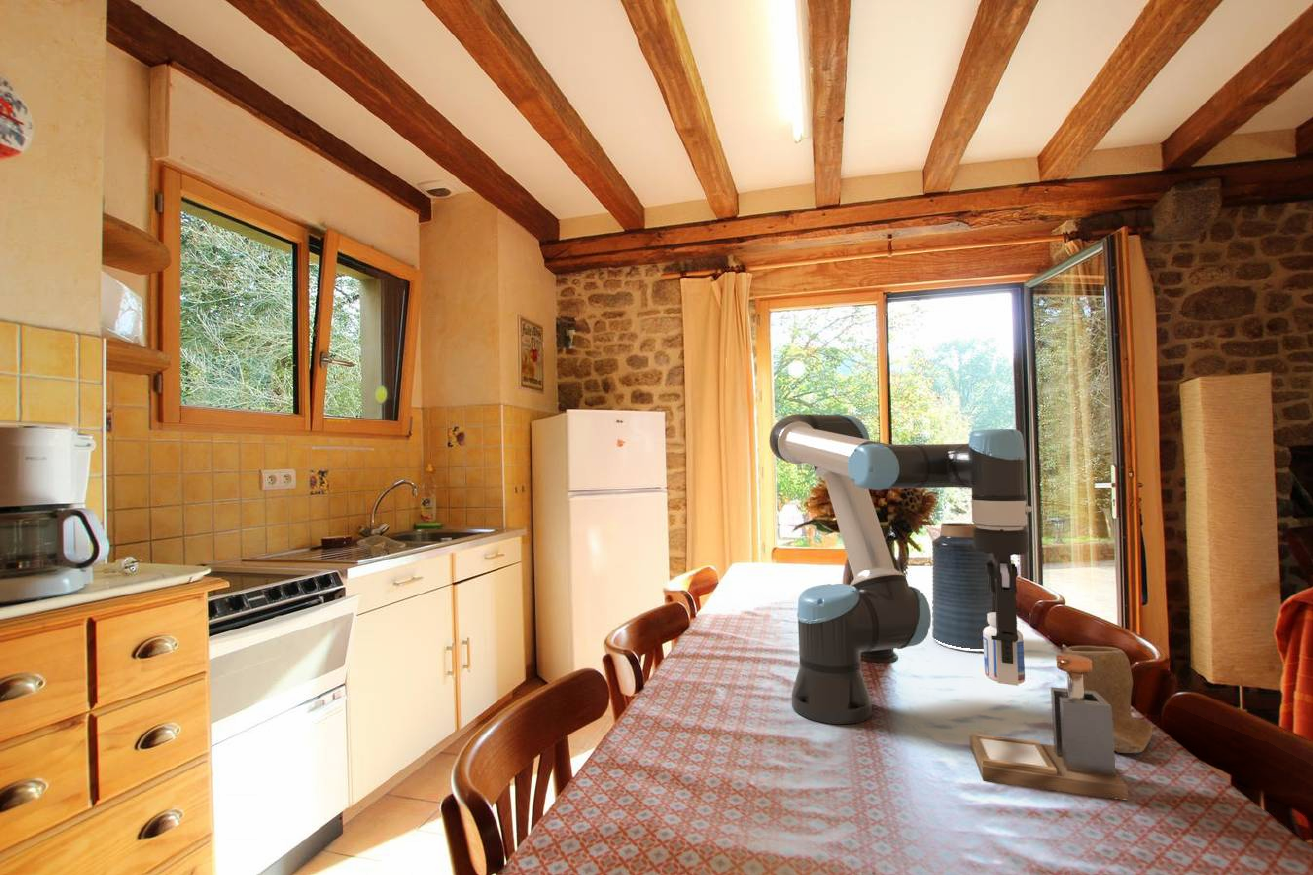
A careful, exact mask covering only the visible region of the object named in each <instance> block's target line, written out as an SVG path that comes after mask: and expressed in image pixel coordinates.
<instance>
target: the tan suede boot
mask: <svg viewBox="0 0 1313 875" xmlns="http://www.w3.org/2000/svg"><path fill="white" fill-rule="evenodd" d="M1063 654H1072V655H1078V656H1083V657H1086V658H1088V659H1090V660H1092V673H1091V674H1083V687H1084V690H1086V691H1096V692H1097V693H1098V694H1099V695H1100V696H1101V697H1102V698H1103V699H1104V700H1105V701H1106V702H1108V703H1109V704H1110V705H1111V706H1112V722H1113V739H1114V751H1116V753H1119V754H1120V753H1121V754H1139V753H1141V752H1144V750H1145V749H1146V747H1147V745H1148V744H1149V742H1150V741H1151V738H1152V734H1153V730H1154V728H1153V725H1152V724H1151V723H1150V722H1148V721H1145V720H1142V719H1139V718H1136V717H1134V716H1133V715H1132V708H1131V707H1132V694H1133V686H1134V678H1133V673H1132V668H1131V663H1130V660H1129V657H1128V656H1127V654H1126V652H1124V650H1122V649H1120V648H1117V647H1112V646H1096V645H1073V646H1067V647H1066V648H1065V649H1064V651H1063Z"/></svg>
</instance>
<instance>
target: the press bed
mask: <svg viewBox="0 0 1313 875" xmlns="http://www.w3.org/2000/svg"><path fill="white" fill-rule="evenodd" d="M969 742H970V746H969V747H970V750H971V752H972V754H973V757H974V760H975V762H976V765H977V768H978V770H979V773H980V776H981V778H982V780H983V781H986V782H991V781H992V783H998V784H999V783H1000V784H1006V785H1013V786H1019V787H1020V786H1021V787H1025V786H1026V788H1033V789H1034V788H1035V789H1039V788H1040V789H1041V790H1046V789H1049V790H1048V791H1053V790H1056V791H1055V792H1060V791H1064V792H1063V793H1067V792H1068V793H1067V794H1076V795H1083V796H1087V797H1088V796H1089V797H1095V796H1097V798H1102V797H1107V798H1106V799H1108V798H1117V799H1127V800H1128V801H1129V791H1128V788H1129V787H1128V785H1127V784H1126V783H1125V781H1123V780H1122V778H1121V777H1120V776H1119V774H1118V773H1117V772H1116V777H1111V776H1104V775H1096V774H1089V773H1081V772H1074V771H1067V770H1066V768H1065V767H1064V765H1063V757H1057V755H1056V754H1055V752H1054V744H1046V743H1040V742H1039V741H1037V740H1029V739H1024V738H1023V739H1020V738H1015V737H1014V738H1012V737H1005V736H997V735H988V734H982V733H981V734H979V733H974V732H973V733H972V732H971V734H970V735H969ZM1042 788H1043V789H1042ZM1058 790H1059V791H1058Z"/></svg>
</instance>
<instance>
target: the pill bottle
mask: <svg viewBox="0 0 1313 875" xmlns="http://www.w3.org/2000/svg"><path fill="white" fill-rule="evenodd" d="M987 621H988V623H989V624H990V626H988V627H986V628H985V629H984V631H983V640H984V652H983V656H984V659H983V661H984V673H985V676H986V678H988V679H989V680H992V681H994V682H997V664H996V640H992V639H991V636H996V634H997V629H996V612H991V613H988V614H987ZM1017 625H1018V622H1017ZM1005 632H1006V631H1005ZM1017 635H1018V640H1017V662H1018V685H1020V684H1023V683H1024V682H1025V681H1026V668H1025V667H1026V666H1025V649H1024V648H1025V645H1024V642H1025V641H1024V635H1023V633H1022V632H1021V631H1020V630H1019V629H1017Z"/></svg>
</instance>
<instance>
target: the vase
mask: <svg viewBox="0 0 1313 875" xmlns="http://www.w3.org/2000/svg"><path fill="white" fill-rule="evenodd" d="M975 527H977V525H976V524H974V523H965V522H963V523H961V522H960V523H959V522H956V523H955V522H954V523H951V522H948V523H941V525H940V535H939V536H938V537H936V538H935V539H933V540H932V541H931V543H932V544H931V546H932V548H931V550H932V551H931V552H932V556H931V557H932V560H931V561H932V564H931V565H932V568H931V569H932V573H931V574H932V576H931V577H932V584H931V585H932V588H931V590H932V593H931V594H932V600H931V602H932V603H931V604H932V607H931V610H932V614H931V618H932V621H931V622H932V623H931V624H932V625H931V626H932V630H931V631H932V633H931V634H932V635H931V636H932V639H933V638H934V639H936V640H938V641H940V642H942V643H945V644H948V645H952V646H956V647H961V648H970V649H984V640H983V631H984V629H985V628H986V627H988V626H990V624H989V623H988V621H987V614H988V613H991V612H992V606H991V589H990V588H989V579H988V573H987V568H986V562H989V561H990V560H992V554H991V553H982V552H978V551H976V550H975V549H974V545H973V529H974V528H975ZM934 639H933V640H934Z"/></svg>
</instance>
